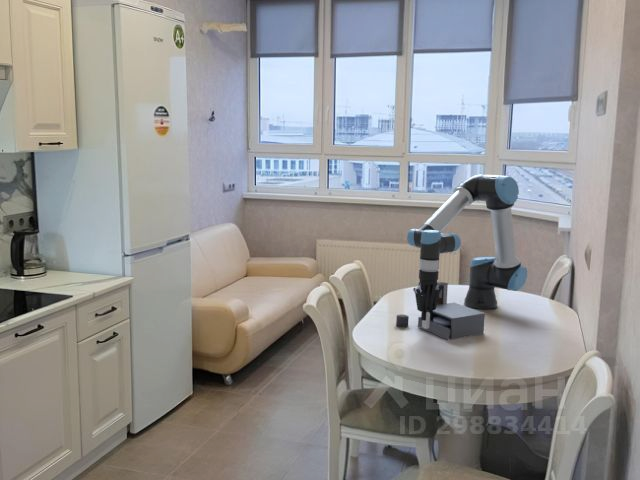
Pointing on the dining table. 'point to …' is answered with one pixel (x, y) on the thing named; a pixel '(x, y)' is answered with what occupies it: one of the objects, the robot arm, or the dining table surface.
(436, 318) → the light blue dome
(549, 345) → the dining table surface
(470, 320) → the gray drawer box
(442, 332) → the tray
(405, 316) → the short dark gray cylinder
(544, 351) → the dining table surface
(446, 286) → the coffee box
